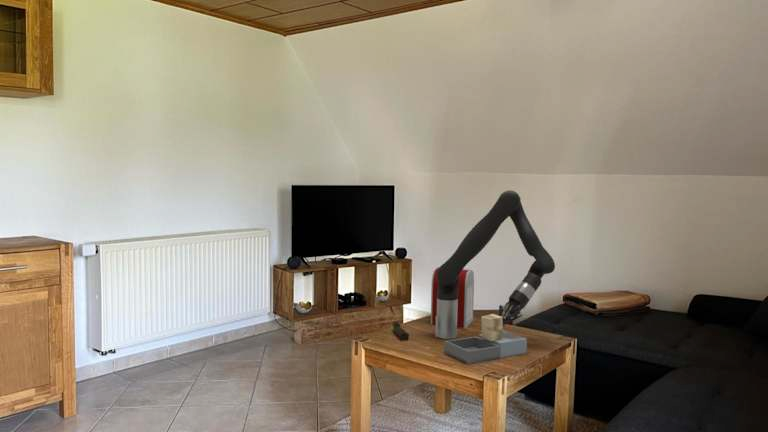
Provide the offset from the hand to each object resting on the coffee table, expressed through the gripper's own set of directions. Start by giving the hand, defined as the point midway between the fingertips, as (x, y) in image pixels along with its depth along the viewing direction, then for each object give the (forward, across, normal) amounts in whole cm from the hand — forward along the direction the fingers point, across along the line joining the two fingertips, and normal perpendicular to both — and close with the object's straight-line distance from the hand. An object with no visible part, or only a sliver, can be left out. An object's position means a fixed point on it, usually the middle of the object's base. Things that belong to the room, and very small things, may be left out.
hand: (498, 326), depth 249 cm
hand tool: (+25, -39, -10) cm, 48 cm away
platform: (+6, 0, +9) cm, 11 cm away
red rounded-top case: (0, -48, +15) cm, 50 cm away
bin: (+17, 0, -2) cm, 17 cm away
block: (+5, 0, +1) cm, 5 cm away
